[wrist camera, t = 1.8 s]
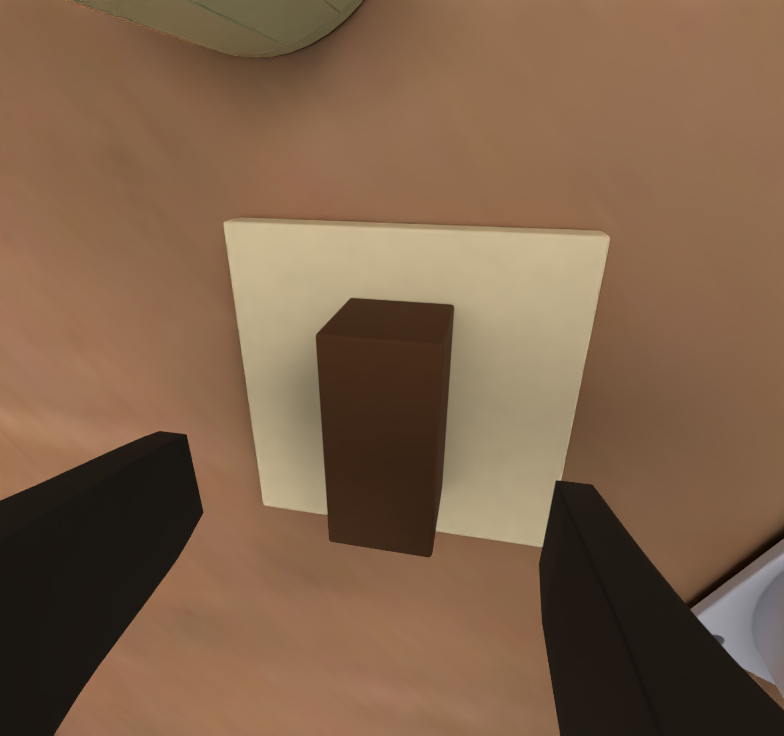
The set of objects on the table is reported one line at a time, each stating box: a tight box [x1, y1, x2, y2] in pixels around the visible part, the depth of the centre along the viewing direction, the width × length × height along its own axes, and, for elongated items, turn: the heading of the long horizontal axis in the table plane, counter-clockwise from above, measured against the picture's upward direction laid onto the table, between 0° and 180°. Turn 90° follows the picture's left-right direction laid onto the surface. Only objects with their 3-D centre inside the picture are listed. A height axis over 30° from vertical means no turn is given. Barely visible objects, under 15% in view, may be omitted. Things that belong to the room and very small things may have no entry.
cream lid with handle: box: [223, 217, 610, 557], centre depth 12 cm, size 9×9×3 cm
